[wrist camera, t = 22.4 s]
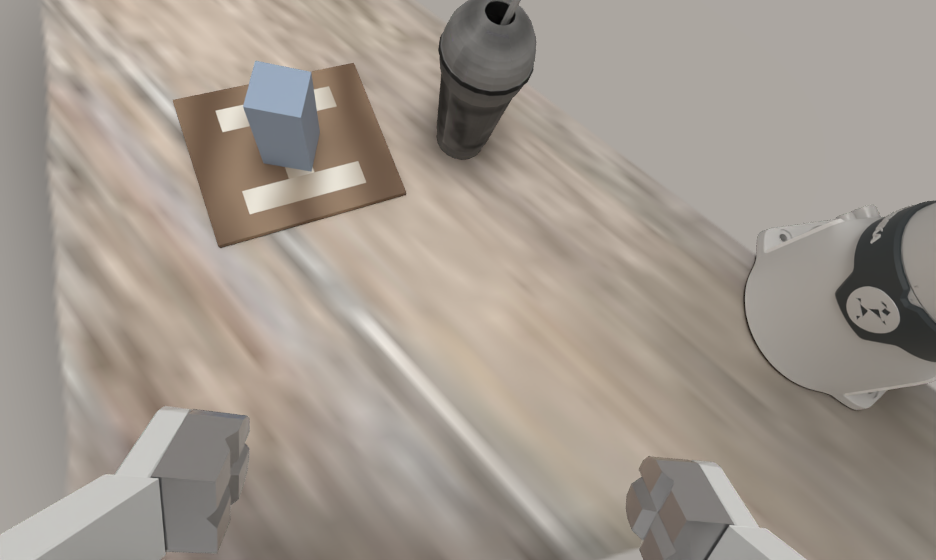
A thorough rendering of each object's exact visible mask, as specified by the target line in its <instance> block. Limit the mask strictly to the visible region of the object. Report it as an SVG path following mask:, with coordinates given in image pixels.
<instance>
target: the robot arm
mask: <svg viewBox="0 0 936 560" xmlns="http://www.w3.org/2000/svg"><path fill="white" fill-rule="evenodd" d="M780 238H781V240H782V241H781V240H780ZM756 247H757V248H756V253H757V258H756V262H755V265H754V267H753V269H752V271H751V273H750V275H749V278H748V281H747V285H746V291H745V309H746V316H747V320H748V324H749V327H750V330H751V332H752V335H753V337H754V339H755V341H756V343H757V345H758V347H759V348H760V350H761V351H762V353H763V354H764V356H765V357H766V358H767V359H768V361H769V362H770V363H771V364H772V365H773V366H774V367H775V368H776V369H777V370H778V371H779V372H780V373H782V374H783V375H784V376H785V377H787V378H788V379H790V380H791V381H793V382H795V383H797V384H799V385H801V386H803V387H805V388H808V389H811V390H816V391H820V392H824V393H827V394H830V395H832V396H833V397H835V398H836V399H837V400H839V401H840V402H841V403H843V404H844V405H846V406H847V407H849V408H851V409H854V410H861V409H867V408H869V407H871V406H872V405H873V404H874V403H875V402H876V401H877V400H878V399H879V398H880V397H881V396H882V395H883V394H884V393H885V392H886V391H887V390H889V389H896V388H902V387H909V386H915V385H921V384H927V383H930V382H933V381H935V380H936V201H927V202H923V203H919V204H917V205H912V206H908V207H905V208H902V209H900V210H898V211H895V212H893V213H891V214H890V215H888V216H886V217H881V216H880V215H879V212H878V210H877V208H876V206H874V205H868V206H865V207H862V208H859V209H856V210H854V211H851V212H849V213H846V214H843V215H840V216H838V217H836V219H834V220H827V221H819V222H812V223H804V224H797V225H790V226H782V227H776V228H770V229H767V230H764V231H762V232H760V233H759V235H758V237H757V245H756ZM249 432H250V418H249V417H248V416H245V415H237V414H229V413H221V412H213V411H205V410H197V409H193V410H192V409H184V408H177V407H169V406H164V407H162V408H161V409H160V410H158V411H157V412H156V414H155V415H154V417H153V418H152V420H151V421H150V423H149V424H148V426H147V427H146V429H145V430H144V431H143V433H142V434H141V436H140V437H139V439H138V440H137V442H136V443H135V445H134V446H133V448H132V449H131V451H130V452H129V454H128V455H127V457H126V458H125V460H124V461H123V463H122V464H121V466H120V467H119V469H118V470H117V471H116V473H115V474H114V475H111V474H104V475H103V476H101V477H99V478H97V479H96V480H94V481H92V482H91V483H89V484H87V485H85V486H84V487H82V488H80V489H78V490H77V491H75V492H73V493H71V494H70V495H68V496H66V497H64V498H63V499H61V500H59V501H57V502H56V503H54V504H52V505H51V506H49V507H47V508H45V509H44V510H42V511H40V512H39V513H37V514H35V515H33V516H32V517H30V518H28V519H26V520H24V521H23V522H21V523H19V524H17V525H16V526H14V527H13V528H11V529H9V530H7V531H5V532H4V533H2V534H0V560H160V559H162V558H163V557H164V556H165V555H166V553H165V552H188V553H218V551H219V548H220V546H221V543H222V541H223V538H224V536H225V533H226V530H227V528H228V525H229V523H230V520H231V505H232V504H233V503H234V502H236V501H237V500H238V499H239V497H240V494H241V491H242V489H243V486H244V482H245V478H246V474H247V470H248V463H249V447H248V446H247V445H246V444H245V442H246V439H247V437H248V434H249ZM639 471H640V473H641V476H642V477H641V478H639V479H638V480H636V481H635V482H633V483H632V484H631V486H630V488H629V491H628V493H627V497H626V512H627V518H628V521H629V524H630V527H631V529H632V531H633V532H634V533H636V534H637V535H638V536H639V537H640V538H641V539H642V543H641V546H640V549H639V550H640V552H641V555H642V557H643V560H807V559H805V558H804V557H803V556H801V555H800V554H799V553H797V552H796V551H795V550H794V549H792V548H791V547H790V546H788V545H787V544H786V543H785V542H783V541H782V540H781V539H779V538H778V537H777V536H776V535H774V534H773V533H772V532H770V531H769V530H768V529H766V528H759V526H758V525H757V523H756V521H755V520H754V518H753V517H752V515H751V514H750V512H749V511H748V509H747V507H746V506H745V504H744V503H743V501H742V500H741V498H740V497H739V495H738V493H737V492H736V490H735V489H734V487H733V486H732V484H731V482H730V481H729V479H728V478H727V476H726V475H725V473H724V472H723V470H722V468H721V467H720V466H719V465H717V464H716V463H715V462H707V461H696V460H692V461H690V460H683V459H672V458H662V457H651V456H648V457H647V458H646V459H644V460H643V462H642V464H641V466H640V467H639Z"/></svg>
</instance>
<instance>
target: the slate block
mask: <svg viewBox="0 0 936 560" xmlns="http://www.w3.org/2000/svg"><path fill="white" fill-rule="evenodd" d="M243 108H244V111H245V114H246V117H247V119H248V122H249V125H250V128H251V130H252V133H253V136H254V138H255V141H256V144H257V147H258V149H259V152H260V155H261V158H262V160H263V163H265V164H271V165H277V166H282V167H288V168H294V169H300V170H305V171H311V172H312V167H313V162H314V158H315V153H316V148H317V143H318V139H319V134H320V129H319V122H318V115H317V108H316V101H315V94H314V87H313V80H312V74H311V72H308V71H303V70H299V69H294V68H289V67H284V66H279V65H274V64H269V63H264V62H259V61H255V64H254V68H253V71H252V75H251V79H250V83H249V86H248V90H247V94H246V97H245V101H244V105H243Z"/></svg>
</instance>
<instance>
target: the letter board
mask: <svg viewBox="0 0 936 560" xmlns="http://www.w3.org/2000/svg"><path fill="white" fill-rule="evenodd" d="M311 74H312V80H313V87H314V94H315V101H316V108H317V115H318V122H319V129H320V134H319V139H318V143H317V148H316V153H315V158H314V162H313V167H312V172H311V171H305V170H300V169H294V168H288V167H282V166H277V165H271V164H265V163H263V160H262V158H261V155H260V152H259V149H258V147H257V144H256V141H255V138H254V136H253V133H252V130H251V128H250V125H249V122H248V119H247V117H246V114H245V111H244V108H243V105H244V101H245V97H246V94H247V90H248V86H249V84H248V85H244V86H239V87H234V88H229V89H224V90H219V91H214V92H209V93H205V94H200V95H195V96H190V97H185V98H180V99H175V100H173V103H174V106H175V109H176V112H177V116H178V119H179V122H180V125H181V128H182V131H183V135H184V138H185V141H186V144H187V147H188V151H189V154H190V157H191V160H192V163H193V167H194V170H195V173H196V176H197V179H198V183H199V186H200V189H201V192H202V195H203V198H204V202H205V205H206V208H207V211H208V214H209V218H210V221H211V224H212V227H213V230H214V234H215V237H216V240H217V243H218V246H219V247H220V248H222V247H225V246H229V245H232V244H236V243H239V242H243V241H246V240H249V239H253V238H256V237H260V236H263V235H267V234H270V233H274V232H277V231H281V230H284V229H288V228H291V227H295V226H298V225H302V224H305V223H309V222H312V221H316V220H319V219H323V218H326V217H330V216H333V215H337V214H340V213H344V212H347V211H351V210H354V209H358V208H361V207H365V206H368V205H372V204H375V203H379V202H382V201H385V200H389V199H392V198H396V197H399V196H403V195H406V191H405V188H404V186H403V183H402V181H401V178H400V176H399V173H398V171H397V168H396V166H395V163H394V161H393V159H392V156H391V154H390V151H389V149H388V146H387V144H386V141H385V139H384V136H383V134H382V131H381V129H380V126H379V124H378V122H377V119H376V117H375V114H374V112H373V109H372V107H371V104H370V102H369V99H368V97H367V94H366V92H365V89H364V87H363V84H362V82H361V80H360V77H359V75H358V72H357V70H356V67H355V65H354V63H351V64H346V65H341V66H336V67H331V68H326V69H322V70H317V71H312V72H311Z"/></svg>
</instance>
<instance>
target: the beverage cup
mask: <svg viewBox="0 0 936 560" xmlns="http://www.w3.org/2000/svg"><path fill="white" fill-rule="evenodd" d="M520 1H521V0H468V1H467V2H465V3H464V4H463V5H461V6H460V7H459V8H458V9H457V10H456V11H455V12H454V13H453V15H452V16H451V18H450V20H449V22H448V23H447V25H446V27H445V29H444V32H443V33H442V35H441V37H440V42H439V49H438V51H439V55H440V69H441V84H440V95H439V107H438V118H437V141H438V144H439V146H440V148H441V149H442V150H443V151H444V152H445V153H446V154H447V155H449V156H451V157H453V158H456V159H469V158H472V157H474V156H476V155H477V154H478V153H479V152H480V150H481V148H482V147H483V146H484V145H485V143H486V142H487V140H488V138H489V137H490V135H491V133H492V132H493V130H494V128H495V127H496V125H497V123H498V121H499V120H500V118H501V116H502V115H503V113H504V111H505V110H506V108H507V106H508V105H509V103H510V101H511V99H512V98H513V97H514V96H515V95H516V94H517V93H518V92H519V91H520V89H521V88H522V87H523V85H524V84H526V83H527V82H528V80H529V78H530V76H531V74H532V72H533V65H534V61H535V53H536V36H535V33H534V29H533V26H532V23H531V20H530V19H529V17H528V16H527V14H526V13H525V11H524V10H523V8H521V7H520V6H519V2H520Z"/></svg>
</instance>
